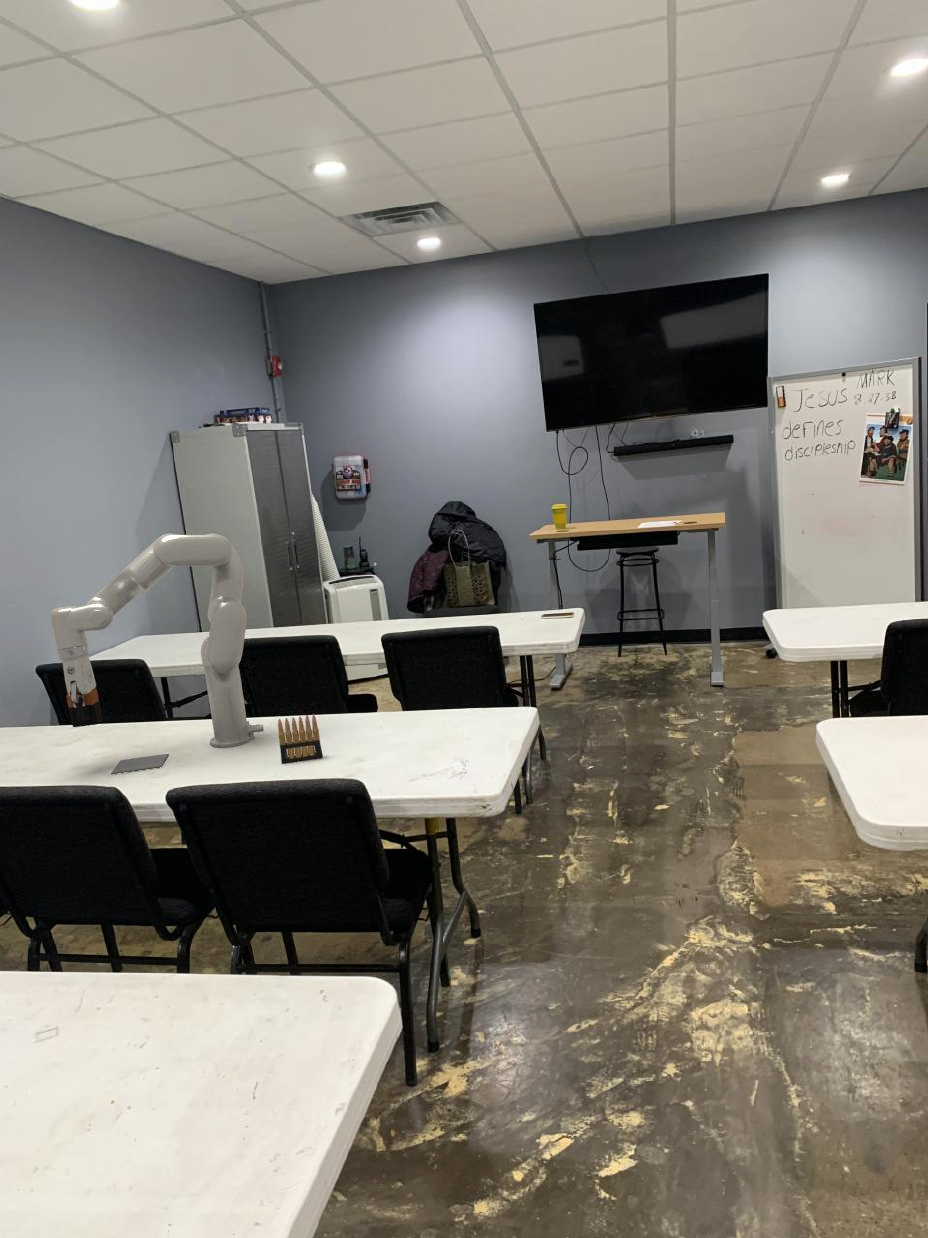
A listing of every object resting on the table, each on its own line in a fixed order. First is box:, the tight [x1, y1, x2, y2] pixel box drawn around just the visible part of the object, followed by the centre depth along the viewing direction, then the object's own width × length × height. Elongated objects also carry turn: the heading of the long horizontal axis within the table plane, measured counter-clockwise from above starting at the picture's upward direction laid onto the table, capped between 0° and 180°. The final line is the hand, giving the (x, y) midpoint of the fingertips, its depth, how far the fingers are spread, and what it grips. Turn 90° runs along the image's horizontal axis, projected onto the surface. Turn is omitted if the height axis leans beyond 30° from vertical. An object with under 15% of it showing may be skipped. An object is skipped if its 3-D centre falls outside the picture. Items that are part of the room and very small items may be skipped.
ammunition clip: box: [277, 713, 324, 765], centre depth 226 cm, size 11×2×12 cm, turn 98°
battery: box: [66, 688, 104, 728], centre depth 233 cm, size 4×7×10 cm, turn 93°
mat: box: [110, 752, 170, 776], centre depth 236 cm, size 13×11×1 cm
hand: (86, 717), depth 234 cm, fingers closed on battery, 4 cm apart
